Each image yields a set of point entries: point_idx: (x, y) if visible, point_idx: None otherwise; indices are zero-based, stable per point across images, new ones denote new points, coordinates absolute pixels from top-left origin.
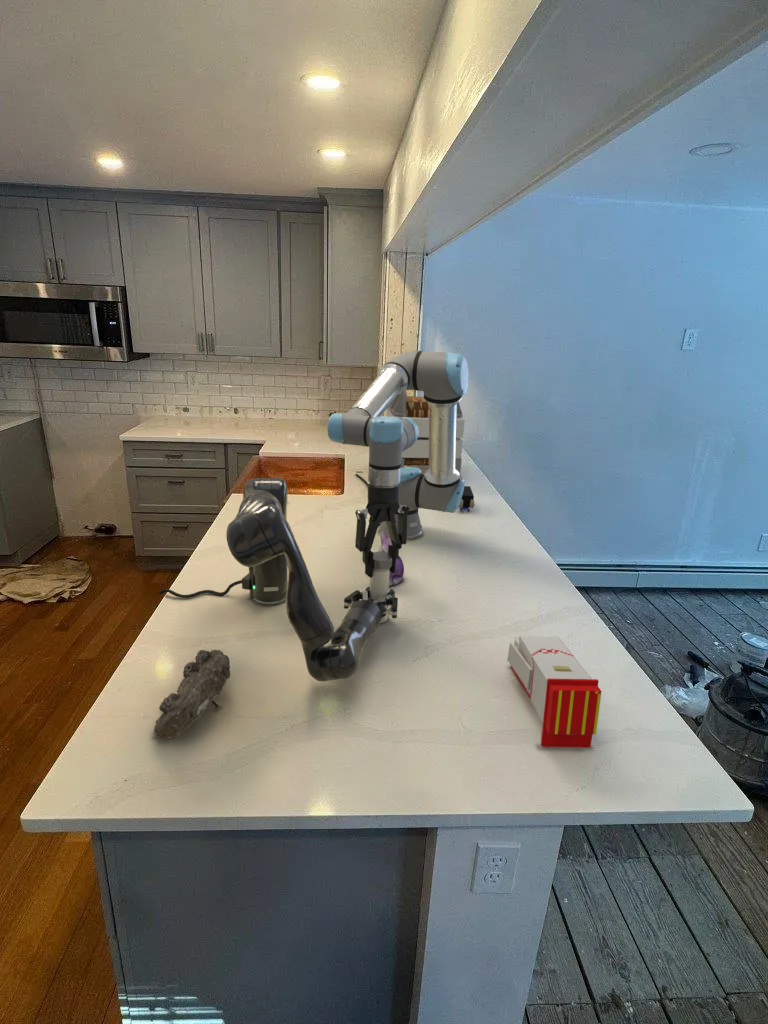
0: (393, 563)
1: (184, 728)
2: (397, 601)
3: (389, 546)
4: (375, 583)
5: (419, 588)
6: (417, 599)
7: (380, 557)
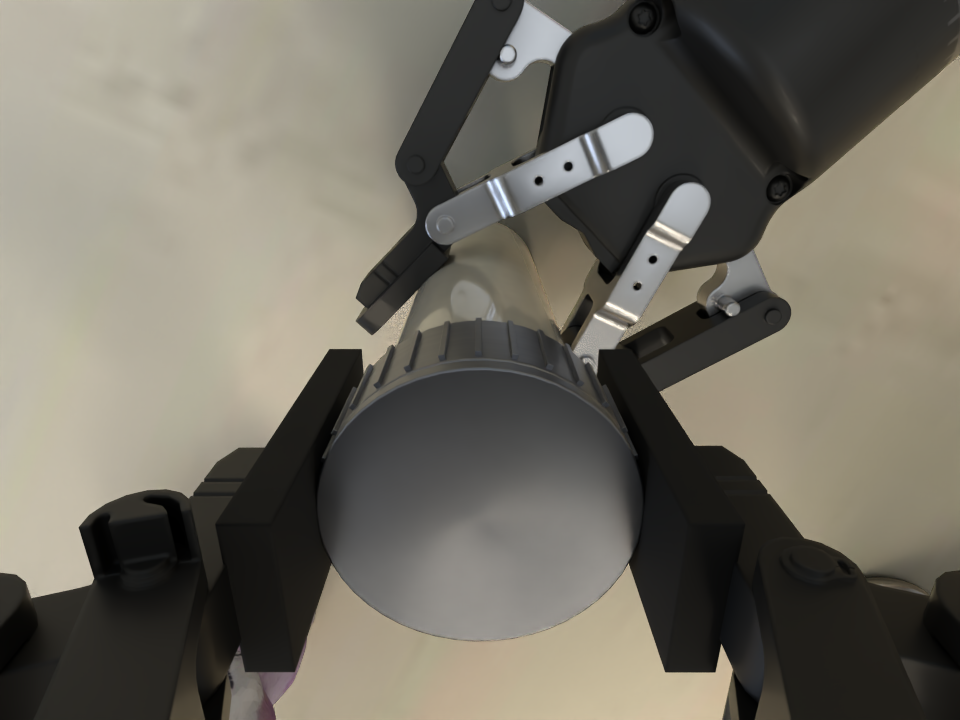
0: (327, 398)
1: None
2: (423, 107)
3: (293, 638)
4: (552, 321)
5: (115, 465)
6: (172, 367)
7: (508, 482)
